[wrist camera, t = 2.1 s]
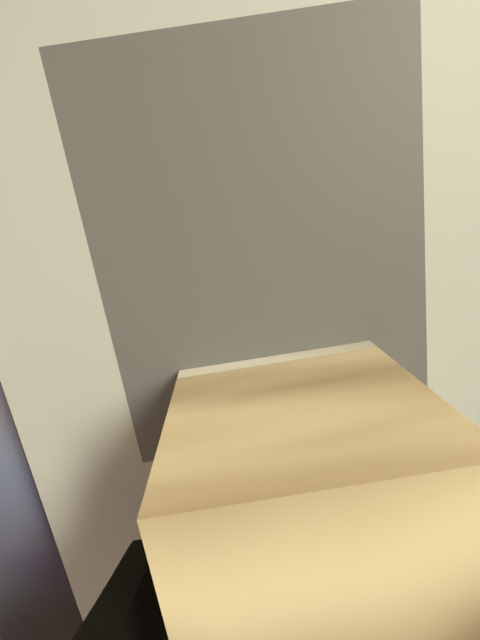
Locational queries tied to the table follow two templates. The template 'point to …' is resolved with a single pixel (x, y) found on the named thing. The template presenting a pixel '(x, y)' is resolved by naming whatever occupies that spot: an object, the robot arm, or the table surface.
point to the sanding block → (314, 503)
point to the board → (222, 218)
